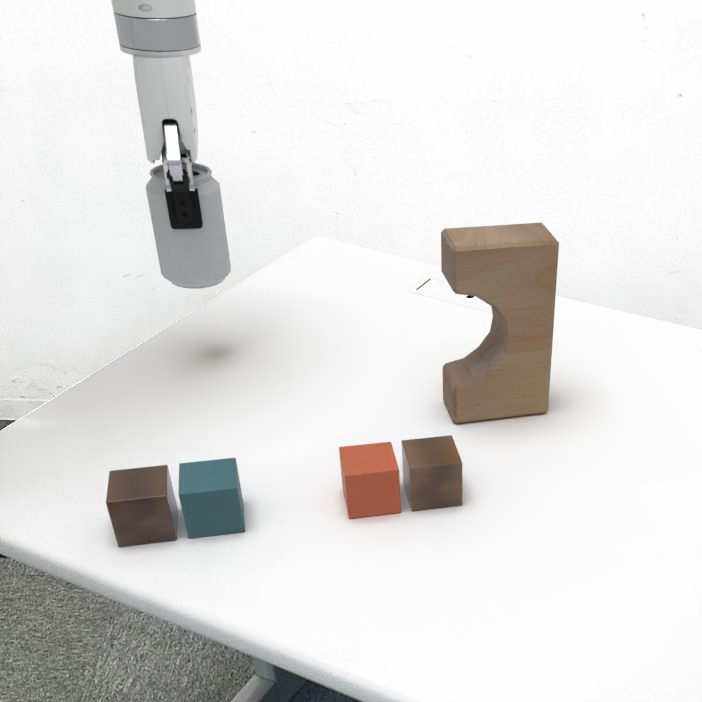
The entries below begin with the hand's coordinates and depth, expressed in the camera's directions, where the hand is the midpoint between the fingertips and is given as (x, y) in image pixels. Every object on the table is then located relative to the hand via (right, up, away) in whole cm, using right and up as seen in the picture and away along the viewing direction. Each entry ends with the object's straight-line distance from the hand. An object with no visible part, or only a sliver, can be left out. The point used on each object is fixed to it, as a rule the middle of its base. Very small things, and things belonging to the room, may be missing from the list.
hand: (187, 213), depth 104 cm
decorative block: (+33, -21, +5) cm, 39 cm away
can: (0, -6, +5) cm, 8 cm away
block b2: (+8, -33, -14) cm, 37 cm away
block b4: (+28, -31, -9) cm, 42 cm away
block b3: (+22, -32, -10) cm, 40 cm away
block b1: (+2, -34, -15) cm, 37 cm away
